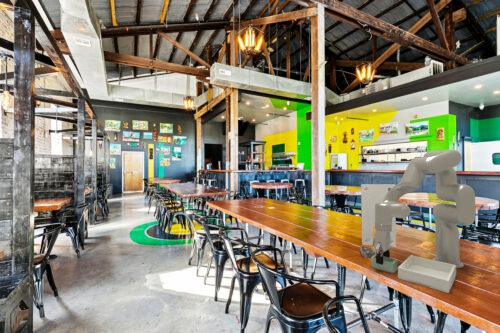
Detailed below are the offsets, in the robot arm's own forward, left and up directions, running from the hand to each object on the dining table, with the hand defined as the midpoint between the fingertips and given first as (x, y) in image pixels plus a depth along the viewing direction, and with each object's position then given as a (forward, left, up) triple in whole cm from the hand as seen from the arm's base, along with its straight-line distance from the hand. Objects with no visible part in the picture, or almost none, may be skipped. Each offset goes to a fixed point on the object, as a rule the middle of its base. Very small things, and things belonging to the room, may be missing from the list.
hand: (383, 261), depth 119 cm
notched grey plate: (-42, -18, -4) cm, 45 cm away
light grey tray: (-5, +17, -4) cm, 18 cm away
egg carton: (-14, -13, -4) cm, 20 cm away
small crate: (-1, 0, -4) cm, 4 cm away
